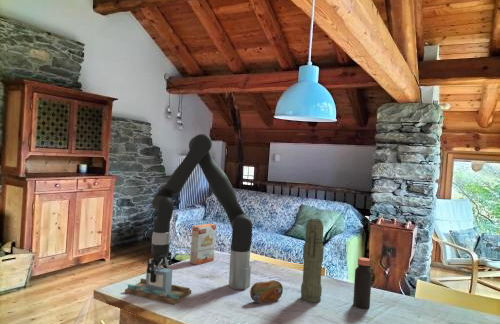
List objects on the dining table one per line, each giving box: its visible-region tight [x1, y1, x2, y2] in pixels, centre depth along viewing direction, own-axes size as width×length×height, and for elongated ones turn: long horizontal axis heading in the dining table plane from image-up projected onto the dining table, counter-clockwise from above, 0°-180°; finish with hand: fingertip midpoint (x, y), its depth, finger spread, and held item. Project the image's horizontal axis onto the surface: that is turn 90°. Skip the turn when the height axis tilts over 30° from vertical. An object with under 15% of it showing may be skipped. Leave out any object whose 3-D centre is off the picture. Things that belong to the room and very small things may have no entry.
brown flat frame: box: [124, 278, 192, 305], centre depth 156 cm, size 25×13×3 cm, turn 69°
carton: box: [145, 266, 173, 292], centre depth 156 cm, size 5×10×9 cm, turn 69°
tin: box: [249, 279, 284, 304], centre depth 154 cm, size 15×3×8 cm, turn 117°
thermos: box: [300, 218, 325, 304], centre depth 158 cm, size 9×12×35 cm
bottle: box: [352, 257, 373, 309], centre depth 154 cm, size 7×7×20 cm
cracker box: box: [189, 223, 217, 266], centre depth 204 cm, size 14×6×21 cm, turn 143°
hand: (159, 279), depth 156 cm, fingers open, 8 cm apart
